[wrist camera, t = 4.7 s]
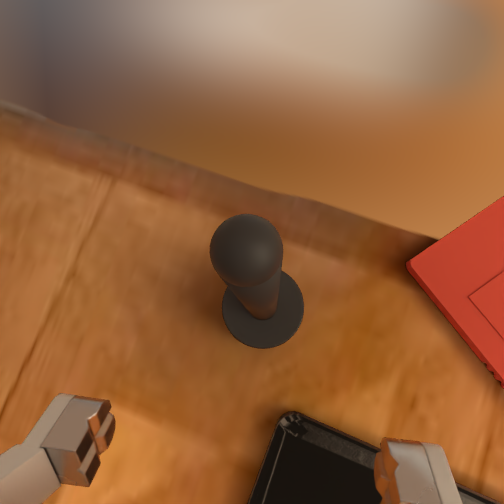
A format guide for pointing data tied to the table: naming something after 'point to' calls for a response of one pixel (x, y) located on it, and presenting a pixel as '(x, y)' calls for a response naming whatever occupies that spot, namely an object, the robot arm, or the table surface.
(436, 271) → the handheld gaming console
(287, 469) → the phone
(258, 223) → the dark post on base
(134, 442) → the table surface
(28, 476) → the robot arm
